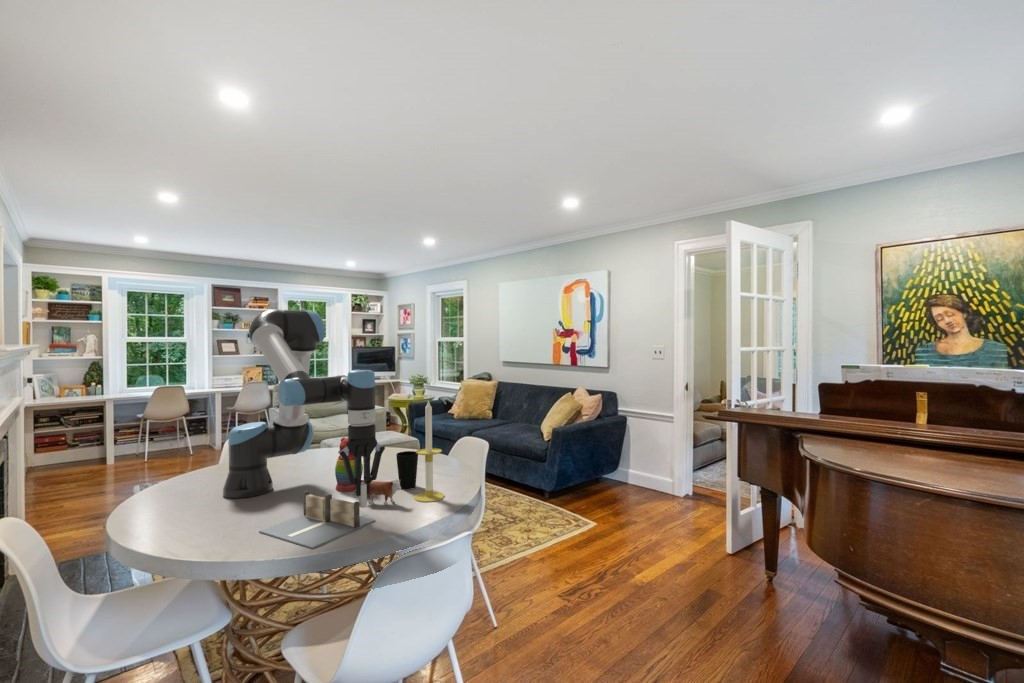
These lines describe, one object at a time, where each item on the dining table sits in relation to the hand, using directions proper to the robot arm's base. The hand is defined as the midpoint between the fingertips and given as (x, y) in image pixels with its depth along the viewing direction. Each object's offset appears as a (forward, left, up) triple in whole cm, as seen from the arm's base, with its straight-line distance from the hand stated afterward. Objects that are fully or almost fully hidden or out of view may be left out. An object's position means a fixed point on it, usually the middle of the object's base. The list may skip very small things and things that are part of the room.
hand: (362, 506), depth 135 cm
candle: (+3, +26, -5) cm, 27 cm away
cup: (-11, +31, -5) cm, 33 cm away
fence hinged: (-1, -5, -4) cm, 6 cm away
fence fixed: (-13, -5, -4) cm, 15 cm away
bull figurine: (-6, +14, -5) cm, 16 cm away
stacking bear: (-29, +21, -5) cm, 36 cm away
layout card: (-8, -8, -5) cm, 13 cm away
